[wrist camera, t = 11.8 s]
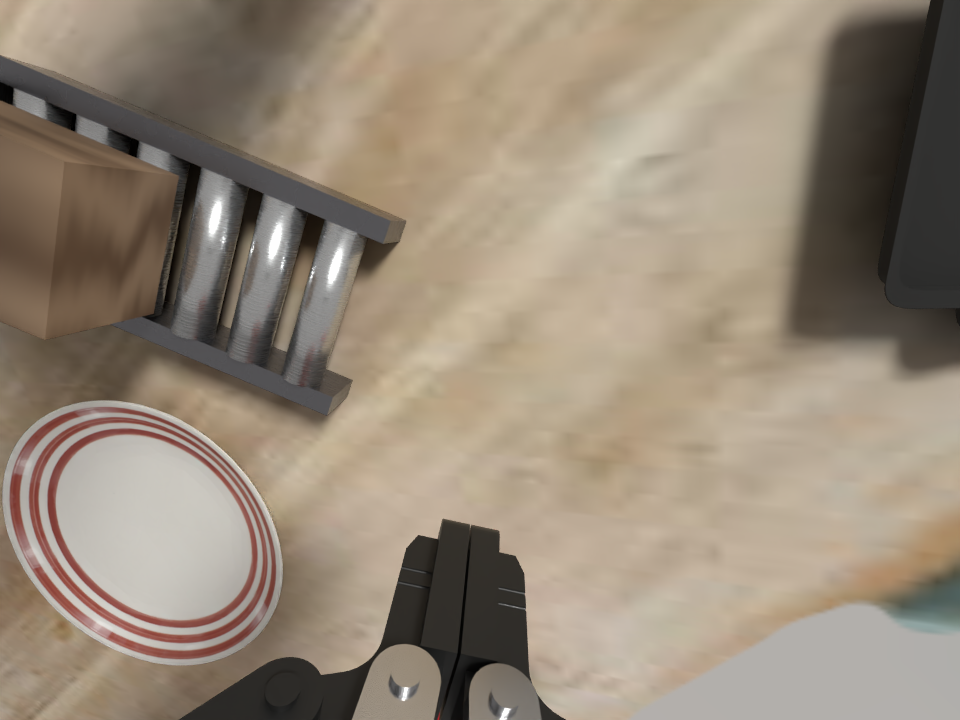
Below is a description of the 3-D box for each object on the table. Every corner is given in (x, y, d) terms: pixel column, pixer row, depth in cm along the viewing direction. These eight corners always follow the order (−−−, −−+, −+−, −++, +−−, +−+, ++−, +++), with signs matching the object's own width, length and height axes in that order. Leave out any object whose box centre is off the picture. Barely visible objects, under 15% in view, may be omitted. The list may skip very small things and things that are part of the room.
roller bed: (28, 60, 35) (-136, 8, 26) (406, 220, 35) (364, 220, 27) (12, 256, 40) (-133, 265, 31) (346, 396, 40) (294, 445, 31)
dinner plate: (-20, 493, 48) (-60, 513, 44) (141, 329, 40) (108, 338, 37) (179, 676, 52) (156, 706, 48) (357, 556, 45) (343, 582, 41)
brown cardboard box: (-18, 92, 31) (-197, 51, 24) (179, 176, 31) (64, 161, 24) (-27, 237, 34) (-187, 242, 27) (153, 313, 34) (44, 340, 27)
